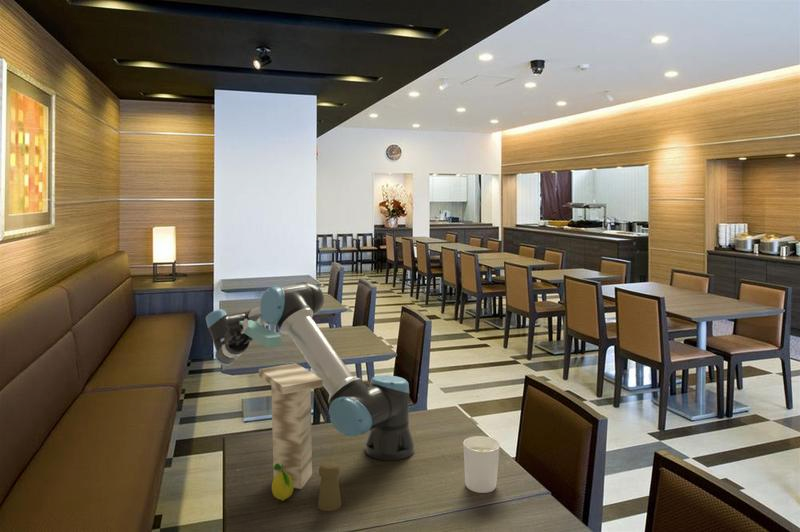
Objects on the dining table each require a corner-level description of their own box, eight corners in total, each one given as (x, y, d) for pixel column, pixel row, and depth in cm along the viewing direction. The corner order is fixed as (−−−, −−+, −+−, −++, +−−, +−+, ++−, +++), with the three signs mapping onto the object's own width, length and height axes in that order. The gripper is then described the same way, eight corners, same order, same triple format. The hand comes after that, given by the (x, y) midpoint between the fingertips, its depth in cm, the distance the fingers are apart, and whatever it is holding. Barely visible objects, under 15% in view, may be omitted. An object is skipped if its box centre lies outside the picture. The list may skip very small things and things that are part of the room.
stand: (298, 460, 168) (296, 362, 165) (324, 486, 153) (323, 379, 150) (261, 470, 162) (258, 369, 159) (284, 498, 147) (282, 387, 144)
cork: (343, 499, 147) (343, 458, 146) (338, 511, 141) (338, 470, 140) (320, 497, 148) (320, 457, 146) (315, 510, 142) (314, 468, 140)
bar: (239, 330, 183) (239, 321, 183) (251, 328, 185) (251, 319, 185) (268, 348, 162) (267, 338, 161) (281, 346, 164) (281, 336, 163)
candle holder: (501, 480, 157) (502, 438, 156) (495, 497, 148) (496, 453, 147) (466, 474, 160) (467, 433, 159) (458, 491, 151) (459, 448, 150)
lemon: (274, 493, 150) (273, 457, 149) (296, 493, 150) (295, 457, 148) (267, 506, 143) (266, 469, 142) (290, 507, 143) (289, 469, 142)
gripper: (261, 351, 198) (282, 329, 180) (212, 358, 189) (229, 336, 171) (257, 331, 200) (277, 307, 182) (208, 337, 191) (224, 313, 173)
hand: (254, 321), depth 176 cm, fingers closed on bar, 4 cm apart
